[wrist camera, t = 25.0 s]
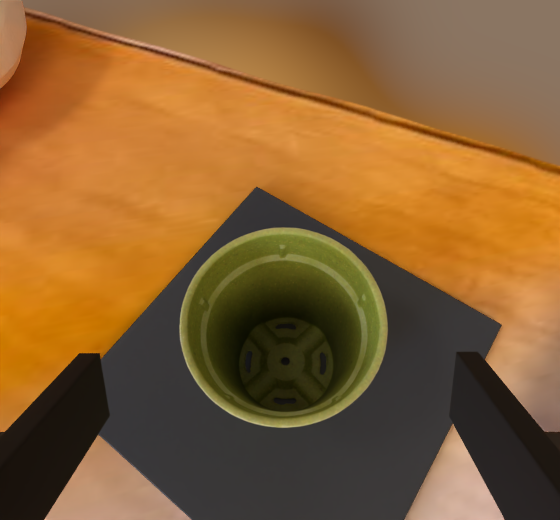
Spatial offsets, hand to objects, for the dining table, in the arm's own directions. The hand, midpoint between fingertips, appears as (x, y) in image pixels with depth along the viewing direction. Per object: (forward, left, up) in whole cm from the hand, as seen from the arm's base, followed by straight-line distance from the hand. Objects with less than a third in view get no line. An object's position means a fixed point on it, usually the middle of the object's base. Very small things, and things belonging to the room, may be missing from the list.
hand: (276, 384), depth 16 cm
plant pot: (+3, +2, -11) cm, 11 cm away
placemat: (+3, +2, -11) cm, 12 cm away
